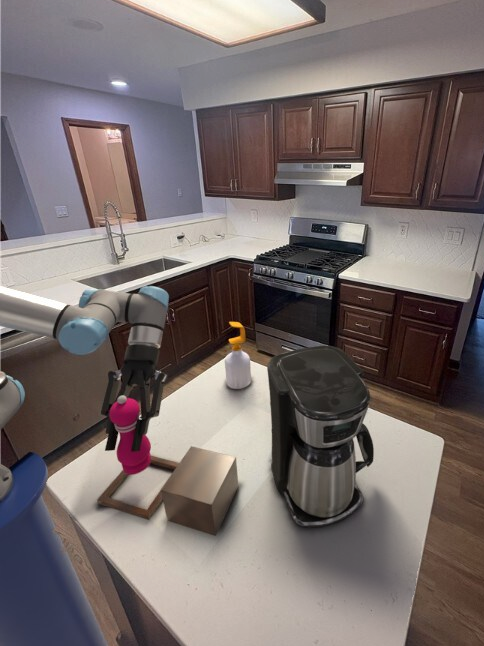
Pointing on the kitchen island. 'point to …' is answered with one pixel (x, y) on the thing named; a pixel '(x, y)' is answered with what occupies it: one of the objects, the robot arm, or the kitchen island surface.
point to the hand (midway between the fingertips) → (122, 450)
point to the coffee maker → (318, 432)
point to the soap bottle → (237, 362)
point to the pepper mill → (129, 436)
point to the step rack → (188, 490)
